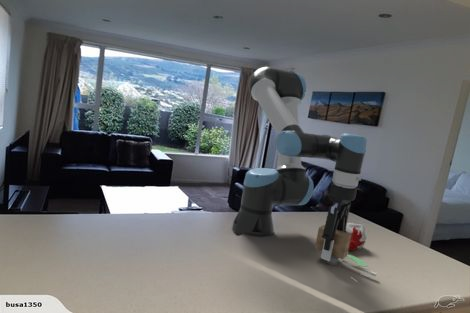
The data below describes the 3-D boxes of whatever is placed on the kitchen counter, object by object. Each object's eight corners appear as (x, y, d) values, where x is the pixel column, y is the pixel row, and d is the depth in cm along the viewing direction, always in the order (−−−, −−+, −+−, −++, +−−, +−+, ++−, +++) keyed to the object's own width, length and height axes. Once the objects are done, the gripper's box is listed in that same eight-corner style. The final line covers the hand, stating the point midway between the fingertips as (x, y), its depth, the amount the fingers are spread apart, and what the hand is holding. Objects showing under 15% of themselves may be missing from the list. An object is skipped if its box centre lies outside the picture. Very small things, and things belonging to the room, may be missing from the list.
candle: (360, 242, 129) (366, 263, 114) (330, 235, 131) (332, 255, 116) (366, 221, 126) (373, 240, 112) (335, 214, 128) (338, 232, 114)
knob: (312, 257, 106) (318, 227, 105) (318, 253, 110) (324, 224, 109) (372, 282, 96) (380, 249, 94) (377, 276, 100) (384, 244, 98)
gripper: (346, 192, 92) (330, 270, 95) (366, 184, 108) (351, 251, 111) (320, 185, 96) (305, 260, 99) (343, 178, 112) (329, 243, 116)
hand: (330, 255), depth 105 cm, fingers open, 7 cm apart
